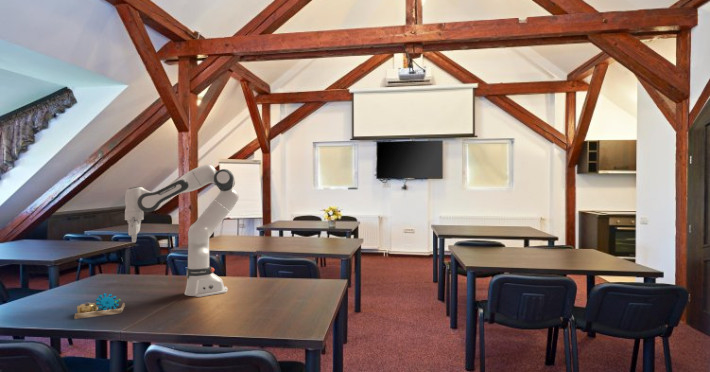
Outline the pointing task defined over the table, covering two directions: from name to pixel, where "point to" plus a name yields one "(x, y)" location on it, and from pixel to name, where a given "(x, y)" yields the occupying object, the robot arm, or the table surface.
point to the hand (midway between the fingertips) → (134, 242)
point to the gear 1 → (87, 307)
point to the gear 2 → (107, 302)
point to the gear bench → (100, 312)
